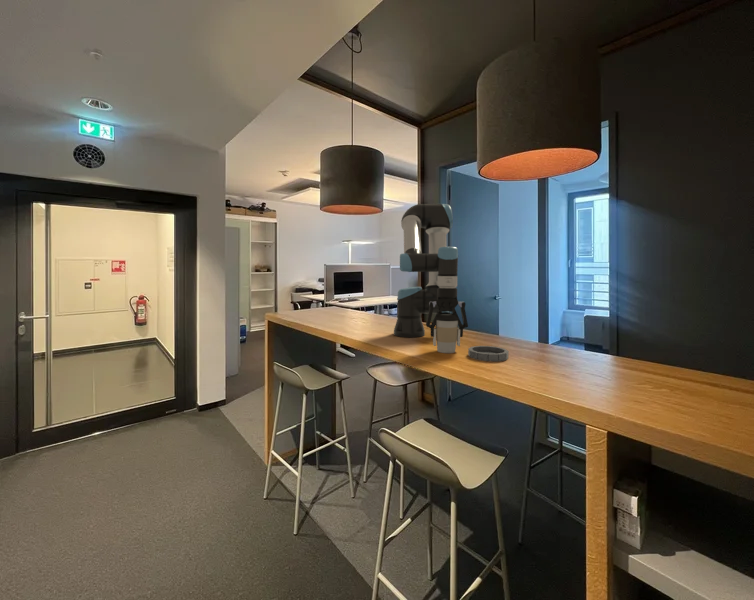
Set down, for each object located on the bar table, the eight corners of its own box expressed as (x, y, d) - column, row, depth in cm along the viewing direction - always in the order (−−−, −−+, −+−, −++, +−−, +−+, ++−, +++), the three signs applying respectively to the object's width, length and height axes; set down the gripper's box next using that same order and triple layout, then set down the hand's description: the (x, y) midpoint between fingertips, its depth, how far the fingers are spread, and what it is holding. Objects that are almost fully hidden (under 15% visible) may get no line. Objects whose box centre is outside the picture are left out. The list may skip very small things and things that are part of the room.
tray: (465, 352, 135) (465, 345, 135) (501, 352, 134) (501, 346, 134) (473, 361, 121) (473, 354, 121) (513, 361, 121) (513, 354, 121)
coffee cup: (460, 353, 132) (461, 314, 131) (436, 353, 132) (436, 314, 131) (455, 348, 141) (456, 311, 140) (433, 348, 141) (433, 311, 140)
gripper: (420, 287, 131) (419, 347, 133) (477, 287, 130) (476, 347, 132) (418, 286, 139) (418, 342, 141) (473, 286, 138) (471, 343, 140)
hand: (446, 345), depth 136 cm, fingers closed on coffee cup, 8 cm apart
